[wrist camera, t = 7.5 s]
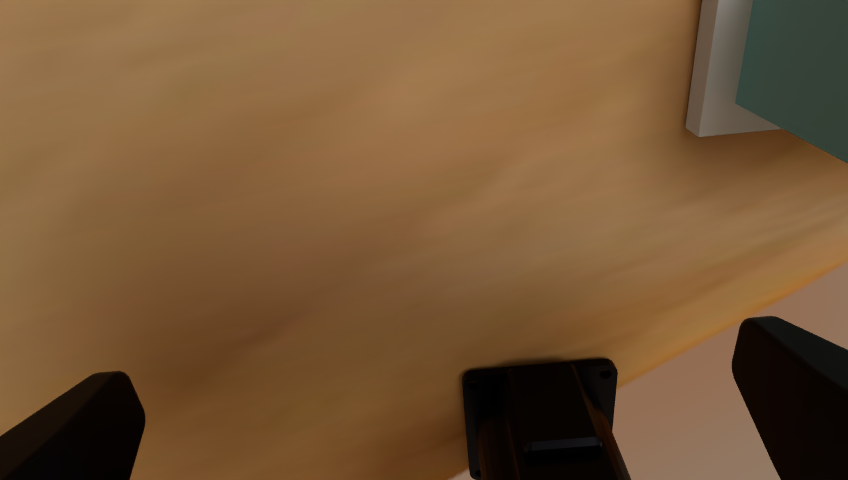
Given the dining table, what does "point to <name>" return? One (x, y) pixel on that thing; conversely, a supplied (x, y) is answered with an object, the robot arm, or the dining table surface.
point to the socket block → (799, 70)
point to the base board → (721, 72)
